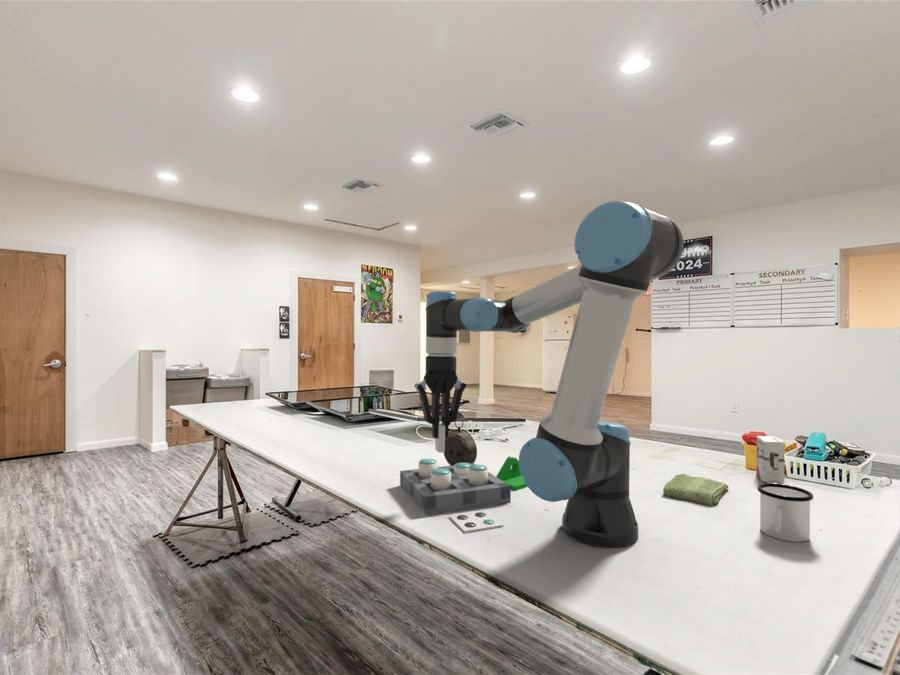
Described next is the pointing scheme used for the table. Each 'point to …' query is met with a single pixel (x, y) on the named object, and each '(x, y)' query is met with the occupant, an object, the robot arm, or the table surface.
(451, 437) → the alarm clock
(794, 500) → the white oval bin
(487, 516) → the tile
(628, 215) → the robot arm
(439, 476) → the button
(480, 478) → the button
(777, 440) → the ink box
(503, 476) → the bracket
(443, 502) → the button board
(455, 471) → the button
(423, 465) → the button
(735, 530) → the table surface
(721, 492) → the washcloth
